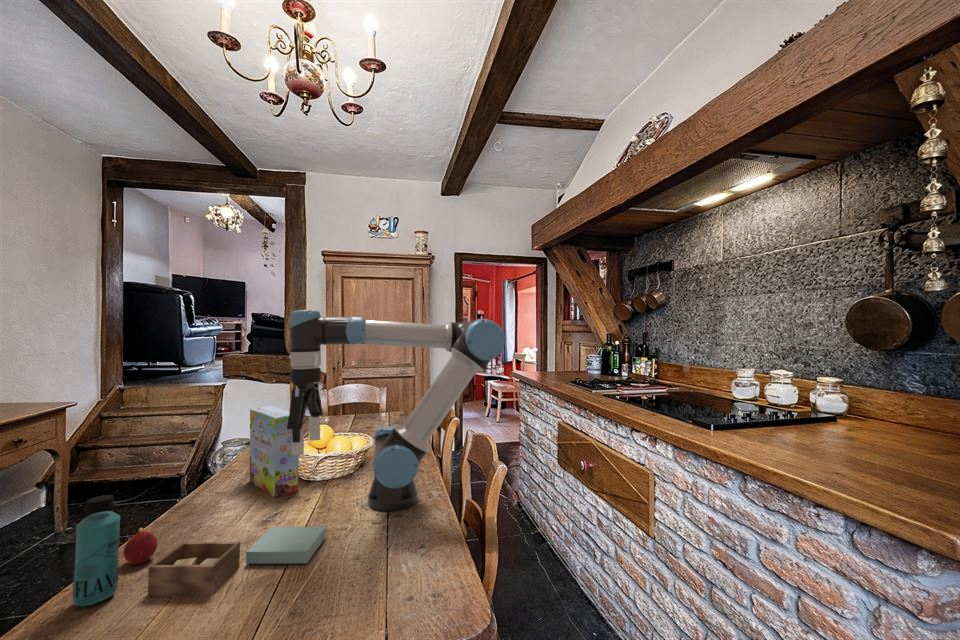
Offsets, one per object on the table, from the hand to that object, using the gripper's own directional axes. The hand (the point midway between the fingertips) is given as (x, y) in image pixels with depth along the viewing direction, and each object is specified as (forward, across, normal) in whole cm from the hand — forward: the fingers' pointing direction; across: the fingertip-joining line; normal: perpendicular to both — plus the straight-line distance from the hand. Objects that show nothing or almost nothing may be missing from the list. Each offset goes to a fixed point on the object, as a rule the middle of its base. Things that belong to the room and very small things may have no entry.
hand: (306, 447), depth 107 cm
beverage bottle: (+21, +27, -31) cm, 46 cm away
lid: (+21, +12, -1) cm, 24 cm away
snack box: (+22, -32, -22) cm, 44 cm away
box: (+21, +22, -15) cm, 34 cm away
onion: (+21, +14, -32) cm, 41 cm away
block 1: (+20, +22, -18) cm, 35 cm away
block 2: (+21, +22, -13) cm, 33 cm away
